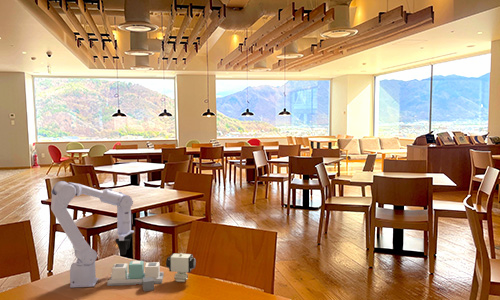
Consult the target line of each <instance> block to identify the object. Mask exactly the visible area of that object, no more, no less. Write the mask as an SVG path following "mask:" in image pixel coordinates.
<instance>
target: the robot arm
mask: <svg viewBox="0 0 500 300" xmlns="http://www.w3.org/2000/svg"><path fill="white" fill-rule="evenodd" d="M50 193H51V205H50V209H51V212H52V213H53V215H54V217H55V218H56V220H57V222H58V223H59V225H60V226H61V228H62V230H63V231H64V233H65V235H66V237H67V238H68V239H69V241H70V243H71V244H72V248H73V251H74V256H75V258H76V259H77V260H76V262H72V263H71V264H70V268H69V269H70V270H69V282H70V286H69V288H88V287H89V288H90V287H91V288H92V287H95V286H96V284H97V282H98V281H99V279H100V278H99V277H96V261H97V258H98V253H97V251H96V250H95V249H93V248H92V247H91V246H90V244H89V243H88V241H86V240H85V238H84V236H83V234H82V233H81V231H80V229H79V227H78V226H77V224H76V223H75V221H74V219H73V218H72V216H71V214H70V212H69V211H68V209H67V208H68V205H69V204H70V203H71V201H72V200H73V199H74V198H75V197H79V196H81V195H86V196H89V197H94V198H98V199H99V200H100V202H101V203H104V204H108V205H112V206H115V207H116V208H117V211H116V213H117V214H116V215H117V216H116V218H117V220H116V222H117V224H116V225H117V227H116V229H117V231H116V235H117V236H118V238H115V243H116V244H117V246H118V250H119V251H118V252H119V254H120V256H126V255H127V250H129V248H130V244H131V239H132V236H133V234H134V233H135V230H132V210H131V209H132V208H131V207H132V206H133V204H134V200H133V198H132V196H130V195H128V194H125V193H123V192H122V191H115V190H113V189H112V188H105V189H103V190H101V189H97V188H93V187H90V186H87V185H84V184H81V183H76V182H72V181H71V182H70V181H68V182H67V181H64V180H61V181H57V182H55V184H53V187H52V189H51V192H50Z"/></svg>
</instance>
